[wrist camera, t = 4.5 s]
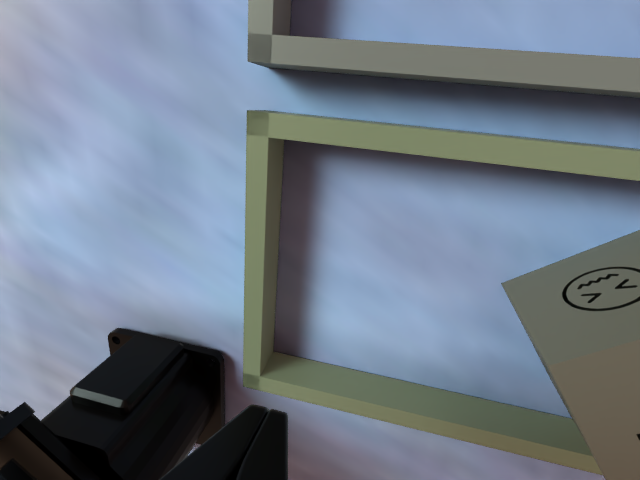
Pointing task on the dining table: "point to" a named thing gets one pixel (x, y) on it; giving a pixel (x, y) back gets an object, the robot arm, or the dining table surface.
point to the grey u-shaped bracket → (369, 389)
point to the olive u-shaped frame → (433, 59)
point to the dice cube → (591, 344)
